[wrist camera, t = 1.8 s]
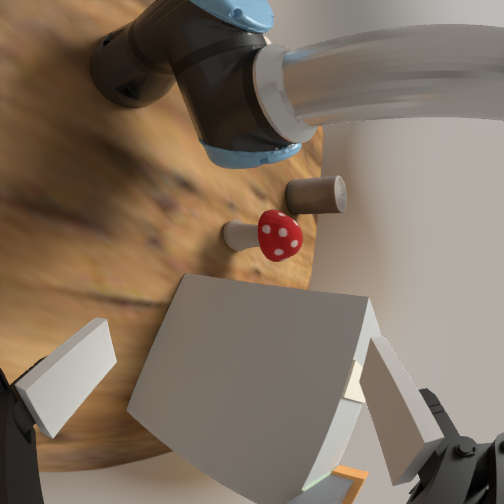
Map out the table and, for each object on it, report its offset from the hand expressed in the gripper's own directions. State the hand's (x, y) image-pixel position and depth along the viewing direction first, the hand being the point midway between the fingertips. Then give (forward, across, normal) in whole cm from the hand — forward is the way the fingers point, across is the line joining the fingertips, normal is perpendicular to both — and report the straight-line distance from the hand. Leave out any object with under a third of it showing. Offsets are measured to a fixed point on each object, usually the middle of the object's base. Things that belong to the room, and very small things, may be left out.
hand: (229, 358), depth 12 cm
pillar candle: (+66, -7, -6) cm, 67 cm away
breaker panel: (+29, +13, +21) cm, 38 cm away
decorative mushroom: (+43, +7, +2) cm, 44 cm away
